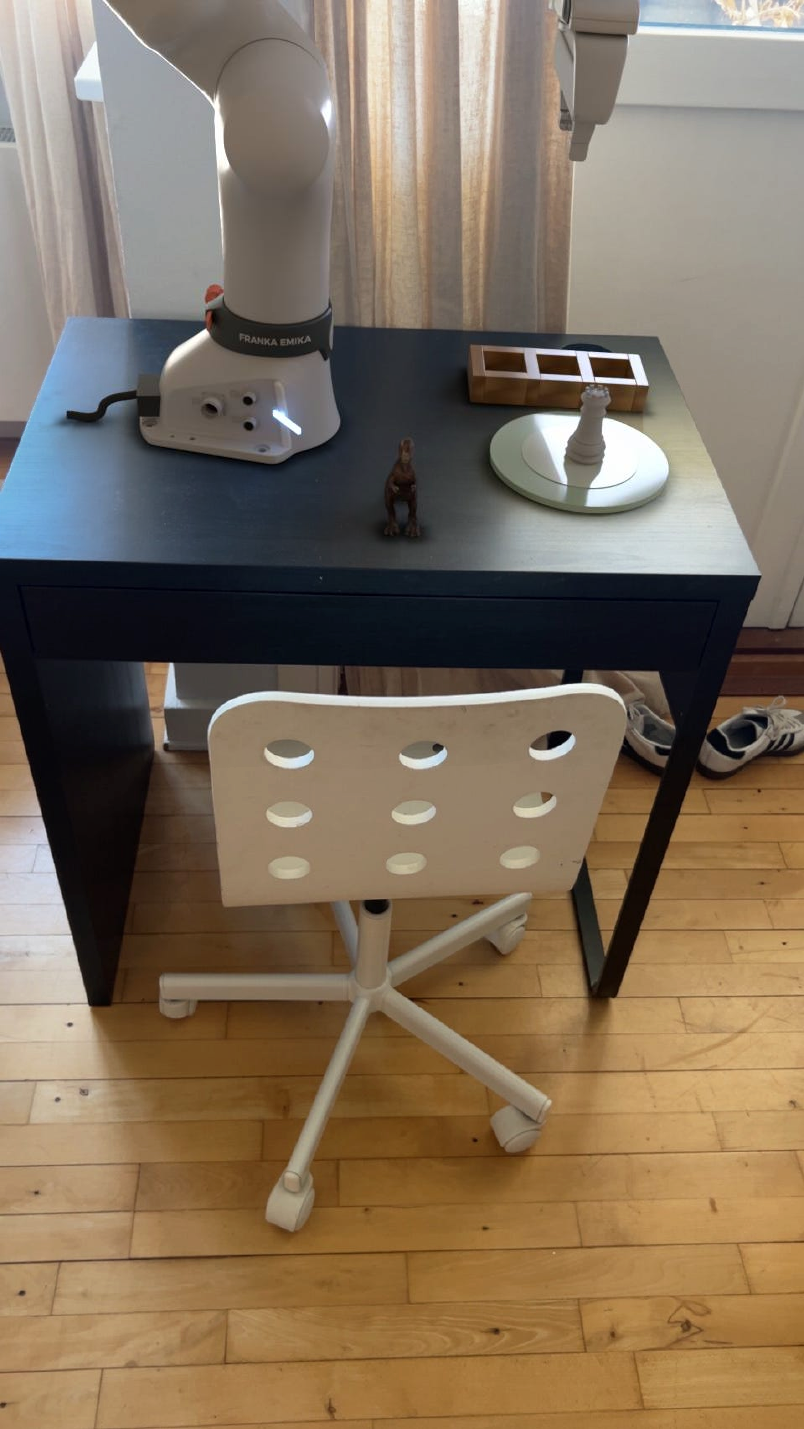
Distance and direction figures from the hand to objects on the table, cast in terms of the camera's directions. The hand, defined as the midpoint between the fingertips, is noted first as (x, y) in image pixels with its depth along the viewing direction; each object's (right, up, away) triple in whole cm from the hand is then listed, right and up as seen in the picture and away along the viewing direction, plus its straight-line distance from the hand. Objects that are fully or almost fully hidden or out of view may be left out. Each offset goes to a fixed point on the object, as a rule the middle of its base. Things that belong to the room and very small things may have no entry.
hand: (571, 143), depth 121 cm
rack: (+1, -20, +22) cm, 29 cm away
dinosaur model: (-18, -38, +1) cm, 42 cm away
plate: (+2, -32, +9) cm, 33 cm away
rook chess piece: (+3, -31, +9) cm, 32 cm away
